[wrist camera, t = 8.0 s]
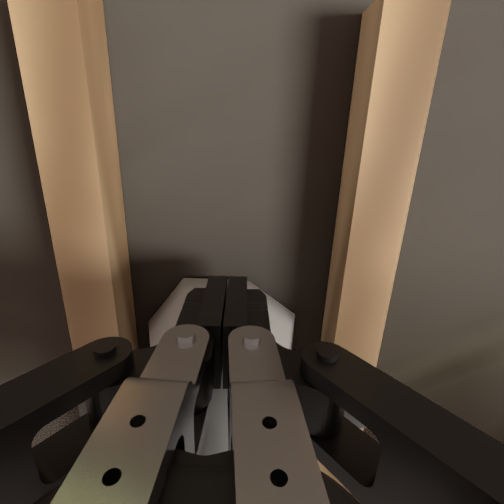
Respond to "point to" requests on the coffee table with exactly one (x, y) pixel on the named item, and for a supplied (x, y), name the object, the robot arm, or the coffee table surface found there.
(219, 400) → the flask
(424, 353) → the coffee table surface
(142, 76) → the coffee table surface
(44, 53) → the beam channel
